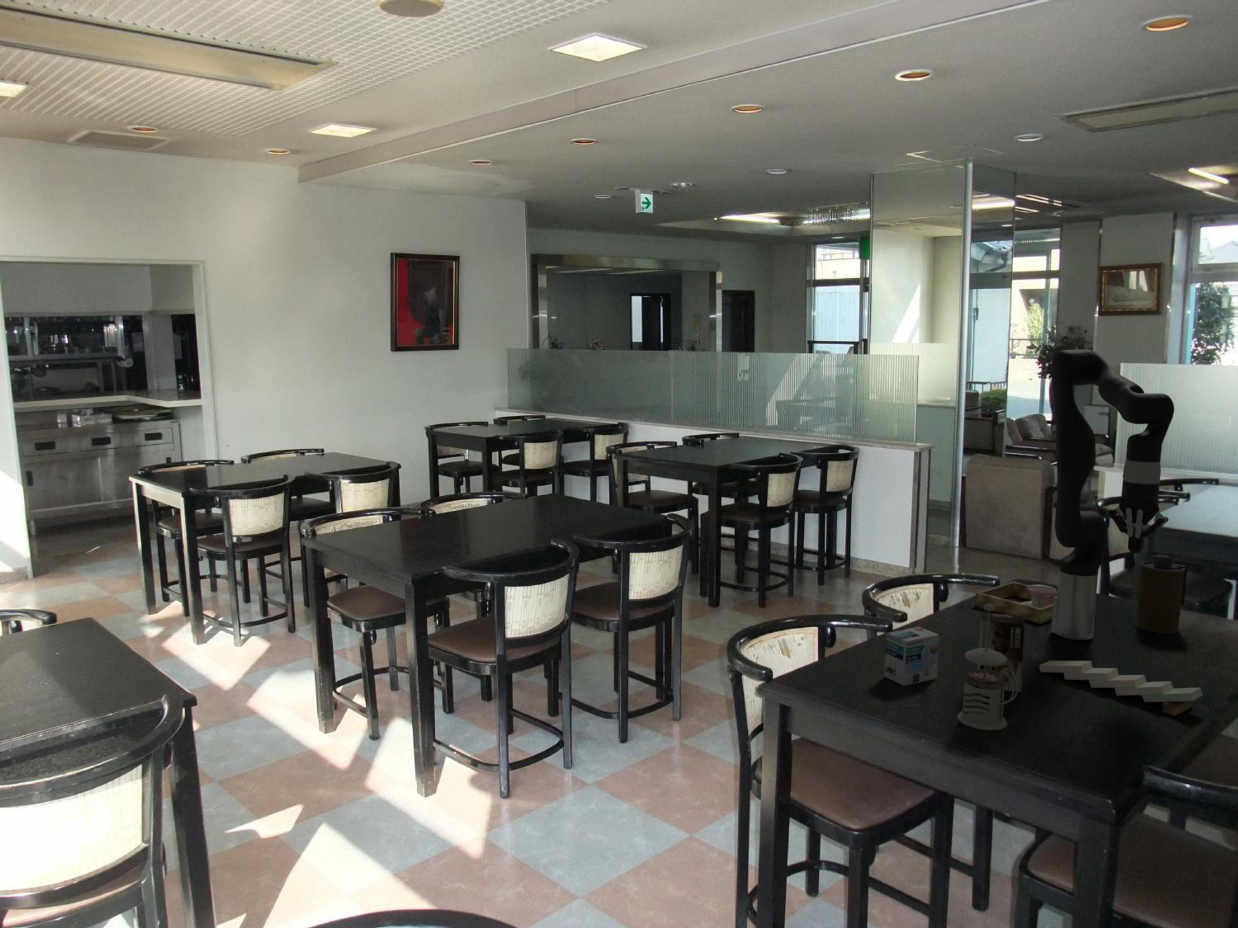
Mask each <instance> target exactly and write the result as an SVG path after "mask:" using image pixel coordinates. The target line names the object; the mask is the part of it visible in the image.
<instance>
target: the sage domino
mask: <svg viewBox="0 0 1238 928" xmlns="http://www.w3.org/2000/svg"><path fill="white" fill-rule="evenodd" d="M1141 696H1142V699H1143V701H1144V703H1155V702H1156V703H1160V702H1161V703H1162V702H1163V703H1165V702H1167V701H1192V702H1194V701H1195V700H1197V699H1198V698H1201V697H1203V696H1204V694H1203V691H1202V688H1201V687H1180V688H1178V687H1177V688H1174V687H1173V689H1172V690H1170V691H1168V692H1166V693H1164V694H1152V695H1141Z"/></svg>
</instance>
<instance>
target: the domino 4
mask: <svg viewBox="0 0 1238 928" xmlns="http://www.w3.org/2000/svg"><path fill="white" fill-rule="evenodd" d="M1172 689H1174V686H1173V684H1172V681H1171V680H1170V681H1167V680H1166V681H1146V683H1144V684H1142V685H1140V686H1138V687H1136V688H1114V691H1115V694H1116V696H1142V695H1152V694H1164V693H1166V692H1168V691H1170V690H1172Z"/></svg>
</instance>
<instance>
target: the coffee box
mask: <svg viewBox="0 0 1238 928" xmlns="http://www.w3.org/2000/svg"><path fill="white" fill-rule="evenodd" d="M987 623H988V612H983V611H982V612H981V613H980V630H979V633H980V634H979V646H978V648H986V638H987ZM1025 625H1026V624H1025V619H1023V616H1019V615H1008V614H1002V613H997V612H995V613H994V612H989V624H988V640H987V648H989V649H992V650H994V651H997V652H1000V653H1001V654H1002V655H1004V656H1005V657H1006V658H1007V661H1006V662H1005V663H1004V664H1003V665H999V666H986V670H989V671H992V672H993V671H994V672H995V673H998V674H1000V675H1001V670H1005V668H1008V669H1009V670H1011V671H1012V672H1013V674H1014V675H1015V676H1016V679H1017V681H1018V692H1017V693H1021V692H1022V686H1023V685H1022V682H1023V666H1024V665H1023V664H1024V663H1023V662H1024V644H1025V643H1024V642H1025V632H1026V631H1025V627H1026V626H1025ZM977 666H978V668H977V669H981V670H983V669H985V665H980V664H978V665H977ZM1009 670H1007V669H1006V672H1007V673H1008V674H1009V676H1010V677H1011V679H1012V681H1013V684H1014V693H1016V690H1017V683H1016V680H1015V678H1014V676H1013V674H1012V673H1011V672H1010V671H1009ZM1002 674H1004V671H1002ZM1009 676H1008V675H1007V674H1006V673H1005V674H1004V675H1003V680H1002V681H1001V682H1003V683H1004V692H1006V691H1007V692H1013V685H1012V682H1011V679H1010V678H1009ZM992 686H993V687H998V688H999V689H1001V691H1003V690H1002V688H1001V687H1000V686H999V685H998V684H988V685H982V686H978V687H977V688H979V689H981V688H987V687H992Z"/></svg>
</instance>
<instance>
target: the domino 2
mask: <svg viewBox="0 0 1238 928" xmlns="http://www.w3.org/2000/svg"><path fill="white" fill-rule="evenodd" d="M1118 675H1119V671H1118V668H1116V667H1111V668H1109V667H1107V668H1106V667H1093V668H1092V669H1089V670H1087V671H1085V672H1083V673H1064V672H1063V676H1064V677H1063V678H1064V680H1065V681H1066V680H1069V681H1072V680H1073V681H1074V680H1076V681H1077V680H1078V681H1079V680H1080V681H1090V680H1110V679H1112V678H1114V677H1116V676H1118Z"/></svg>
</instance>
